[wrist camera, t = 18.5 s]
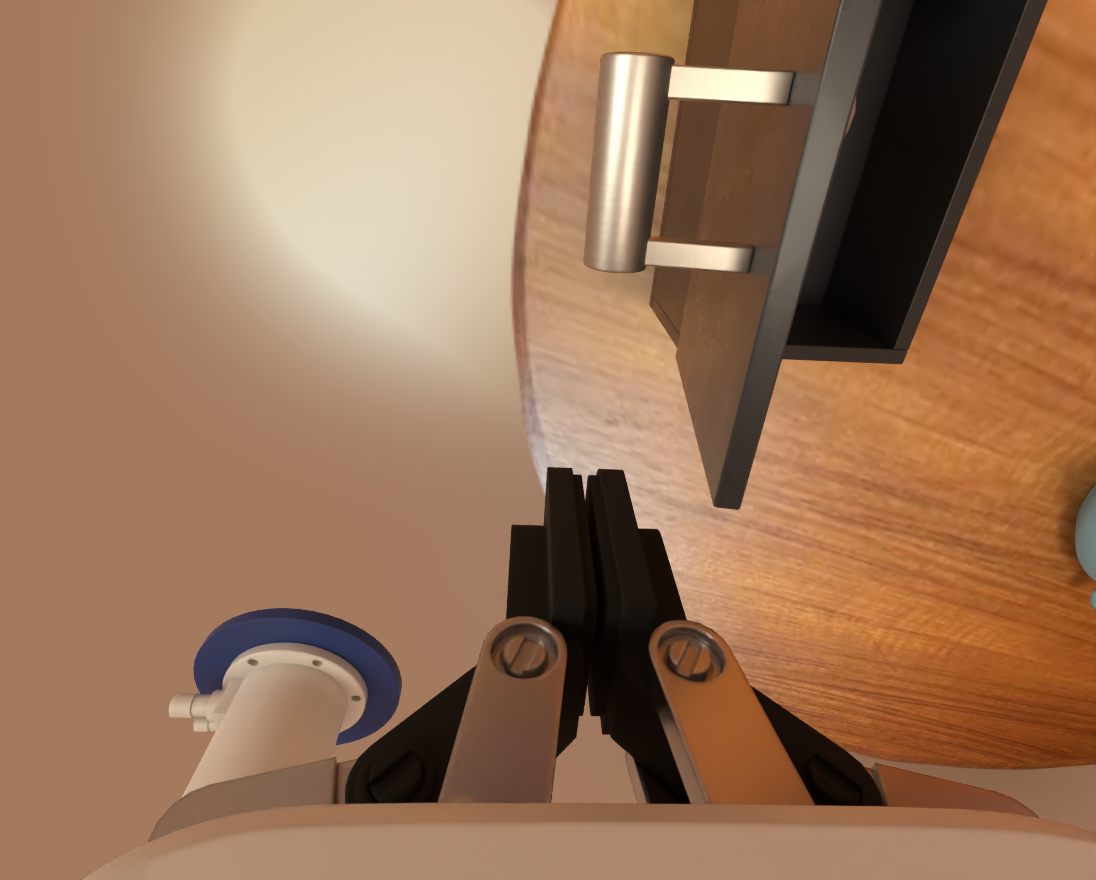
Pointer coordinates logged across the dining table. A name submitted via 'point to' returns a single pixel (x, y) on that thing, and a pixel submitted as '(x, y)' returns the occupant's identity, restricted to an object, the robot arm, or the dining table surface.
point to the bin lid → (732, 200)
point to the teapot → (1087, 538)
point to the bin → (871, 169)
